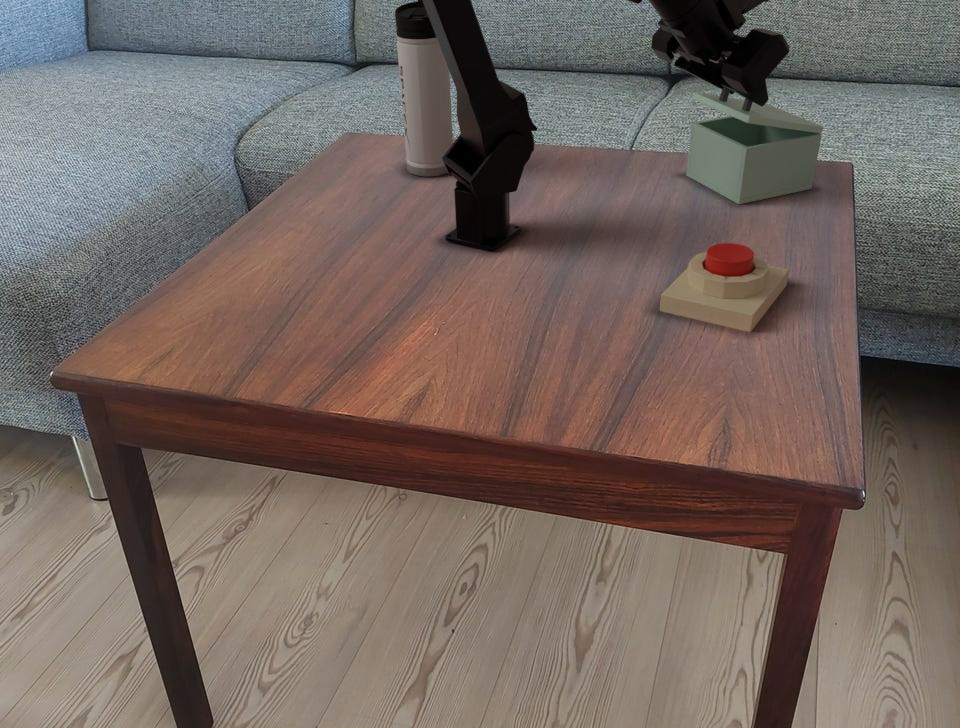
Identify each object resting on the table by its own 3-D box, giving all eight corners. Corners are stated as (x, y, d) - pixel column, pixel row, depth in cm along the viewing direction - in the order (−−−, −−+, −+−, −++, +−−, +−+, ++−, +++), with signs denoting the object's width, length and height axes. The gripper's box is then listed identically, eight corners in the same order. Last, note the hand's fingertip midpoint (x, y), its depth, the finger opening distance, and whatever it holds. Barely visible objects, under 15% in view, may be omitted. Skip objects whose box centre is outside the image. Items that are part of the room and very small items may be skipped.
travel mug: (458, 160, 126) (451, -3, 114) (449, 177, 121) (439, 9, 109) (413, 159, 127) (401, -2, 115) (402, 176, 122) (388, 9, 110)
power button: (742, 282, 87) (745, 265, 86) (697, 273, 89) (699, 256, 88) (757, 264, 90) (760, 248, 89) (714, 256, 92) (716, 239, 91)
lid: (747, 123, 105) (762, 78, 102) (691, 98, 113) (704, 56, 110) (821, 133, 110) (837, 91, 107) (762, 109, 118) (776, 69, 115)
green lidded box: (738, 204, 110) (746, 148, 106) (685, 175, 119) (691, 122, 115) (811, 189, 114) (822, 134, 110) (755, 161, 122) (763, 109, 118)
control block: (750, 332, 86) (755, 298, 84) (659, 311, 90) (662, 277, 88) (786, 285, 93) (792, 252, 91) (700, 267, 97) (704, 236, 95)
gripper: (793, -54, 91) (854, 58, 101) (686, -75, 105) (750, 25, 115) (713, 39, 93) (781, 140, 103) (619, 7, 107) (687, 98, 117)
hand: (749, 96), depth 109 cm, fingers closed on lid, 5 cm apart
